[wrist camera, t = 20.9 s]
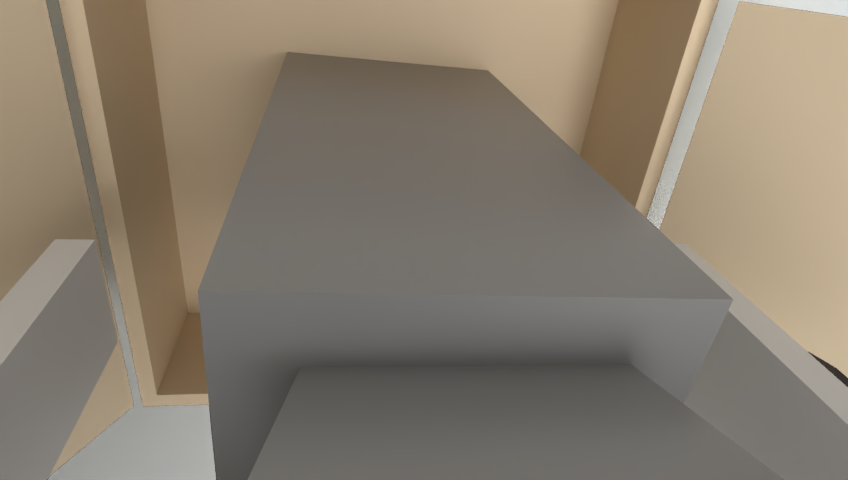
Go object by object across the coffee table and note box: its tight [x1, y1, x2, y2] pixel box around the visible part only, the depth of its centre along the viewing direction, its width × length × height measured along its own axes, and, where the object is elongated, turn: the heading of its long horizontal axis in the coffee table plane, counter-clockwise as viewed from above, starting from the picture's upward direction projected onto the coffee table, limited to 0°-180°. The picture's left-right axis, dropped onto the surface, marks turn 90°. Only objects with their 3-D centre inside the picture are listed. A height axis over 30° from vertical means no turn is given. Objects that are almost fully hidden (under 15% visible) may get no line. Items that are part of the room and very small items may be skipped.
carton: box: [59, 0, 719, 407], centre depth 18 cm, size 16×15×5 cm
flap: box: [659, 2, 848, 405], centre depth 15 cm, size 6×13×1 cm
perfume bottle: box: [198, 52, 784, 480], centre depth 12 cm, size 7×7×18 cm
